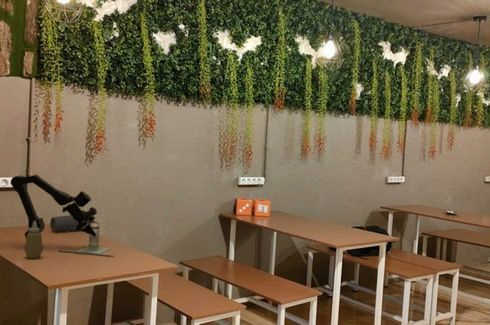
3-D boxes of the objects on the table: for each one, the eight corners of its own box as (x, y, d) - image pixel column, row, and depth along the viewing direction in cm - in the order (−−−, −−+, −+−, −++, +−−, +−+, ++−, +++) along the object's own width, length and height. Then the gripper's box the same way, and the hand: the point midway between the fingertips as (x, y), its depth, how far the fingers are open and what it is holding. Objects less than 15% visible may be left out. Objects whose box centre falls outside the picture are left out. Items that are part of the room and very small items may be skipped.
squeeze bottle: (25, 260, 250) (26, 222, 249) (23, 256, 257) (25, 220, 256) (43, 259, 253) (44, 222, 252) (41, 255, 260) (42, 219, 260)
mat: (99, 254, 269) (99, 253, 269) (76, 251, 271) (76, 251, 271) (110, 249, 282) (110, 248, 282) (88, 247, 284) (88, 246, 284)
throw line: (58, 251, 270) (58, 251, 270) (60, 250, 272) (60, 250, 272) (112, 257, 265) (112, 256, 265) (114, 256, 267) (114, 255, 267)
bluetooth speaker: (84, 228, 336) (84, 213, 336) (90, 231, 329) (91, 215, 329) (49, 231, 321) (50, 215, 320) (55, 234, 314) (56, 217, 314)
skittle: (94, 248, 273) (95, 223, 273) (86, 247, 275) (87, 222, 275) (100, 246, 278) (101, 222, 277) (93, 245, 280) (94, 221, 279)
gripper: (83, 205, 266) (104, 227, 267) (92, 200, 285) (111, 221, 286) (67, 219, 266) (88, 242, 267) (77, 214, 285) (96, 235, 286)
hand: (96, 234), depth 276 cm, fingers closed on skittle, 5 cm apart
